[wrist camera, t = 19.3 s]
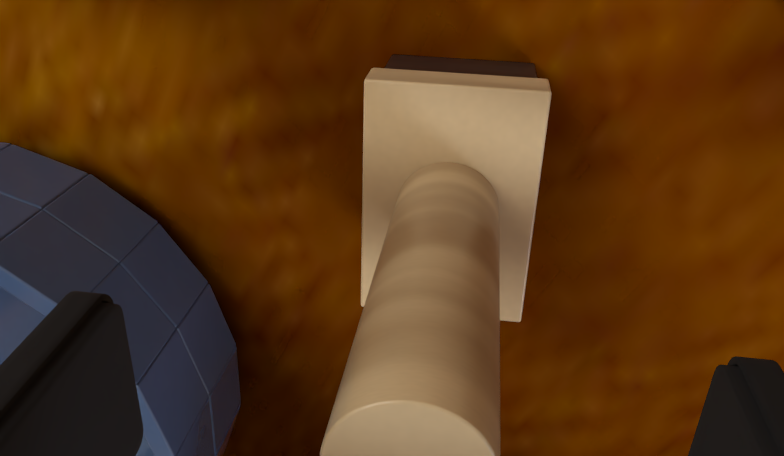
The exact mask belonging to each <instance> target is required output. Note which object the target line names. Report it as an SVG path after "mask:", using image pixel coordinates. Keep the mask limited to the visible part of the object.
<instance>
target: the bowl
mask: <svg viewBox="0 0 784 456" xmlns="http://www.w3.org/2000/svg"><path fill="white" fill-rule="evenodd" d="M72 291H81V292H91V293H101V294H107V295H109V296H110V297H111V298H112V300H113V303H114V304H118V305H120V306H121V308H122V311H123V315H124V321H125V326H126V332H127V338H128V343H129V349H130V355H131V360H132V366H133V371H134V377H135V383H136V388H137V394H138V400H139V405H140V411H141V416H142V422H143V438H142V443H141V446H140V448H139V450H138V452H137V454H136V456H223V454H224V452H225V450H226V447H227V444H228V441H229V438H230V435H231V432H232V429H233V426H234V424H235V421H236V418H237V415H238V412H239V409H240V404H241V399H240V386H239V372H238V359H237V347H236V343H235V341H234V338H233V336H232V334H231V331H230V329H229V327H228V325H227V322H226V320H225V318H224V315H223V313H222V311H221V309H220V306H219V304H218V302H217V300H216V297H215V295H214V293H213V290H212V288H211V286H210V284H209V283H208V281H207V280H206V279H205V277H204V276H203V275H202V274H201V273H200V271H199V270H198V269H197V268H196V267H195V265H194V264H193V263H192V262H191V261H190V259H189V258H188V257H187V256H186V255H185V253H184V252H183V251H182V250H181V249H180V248H179V246H178V245H177V244H176V243H175V242H174V240H173V239H172V238H171V237H170V236H169V234H168V233H167V232H166V231H165V230H164V228H163V227H162V226H161V225H160V224H158V222H157V221H156V220H155V219H153V218H152V217H151V216H149V215H148V214H146V213H145V212H144V211H142V210H141V209H139V208H138V207H137V206H135V205H134V204H132V203H131V202H130V201H128V200H127V199H125V198H124V197H123V196H121V195H120V194H118V193H117V192H116V191H114V190H113V189H111V188H110V187H109V186H107V185H106V184H104V183H103V182H102V181H100V180H99V179H97V178H96V177H95V176H93V175H92V174H88V173H87V172H84V171H82V170H79V169H77V168H74V167H71V166H69V165H66V164H64V163H61V162H58V161H56V160H53V159H51V158H48V157H45V156H43V155H40V154H38V153H35V152H32V151H30V150H27V149H25V148H22V147H19V146H17V145H12V144H11V143H2V142H0V365H1V364H2V363H3V362H4V361H5V360H6V359H7V358H8V356H9V355H10V354H11V353H12V352H13V351H14V350H15V349H16V348H17V347H18V346H19V345H20V344H21V343H22V342H23V340H24V339H25V338H26V337H27V336H28V335H29V334H30V333H31V332H32V331H33V330H34V329H35V328H36V327H37V326H38V324H39V323H40V322H41V321H42V320H43V319H44V318H45V317H46V316H47V315H48V314H49V313H50V312H51V311H52V310H53V309H54V307H55V306H56V305H57V304H58V303H59V302H60V301H61V300H62V299H63V298H64V297H65V296H66V295H67V294H68V293H70V292H72Z"/></svg>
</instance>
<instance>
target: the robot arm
mask: <svg viewBox="0 0 784 456" xmlns="http://www.w3.org/2000/svg"><path fill="white" fill-rule="evenodd" d="M142 438H143V422H142V416H141V411H140V405H139V400H138V394H137V388H136V383H135V377H134V371H133V366H132V360H131V355H130V349H129V343H128V338H127V332H126V326H125V321H124V315H123V311H122V308H121V306H120V305H118V304H114V303H113V300H112V298H111V297H110V296H109V295H107V294H101V293H91V292H81V291H72V292H70V293H68V294H67V295H66V296H65V297H64V298H63V299H62V300H61V301H60V302H59V303H58V304H57V305H56V306H55V307H54V309H53V310H52V311H51V312H50V313H49V314H48V315H47V316H46V317H45V318H44V319H43V320H42V321H41V322H40V323H39V324H38V326H37V327H36V328H35V329H34V330H33V331H32V332H31V333H30V334H29V335H28V336H27V337H26V338H25V339H24V340H23V342H22V343H21V344H20V345H19V346H18V347H17V348H16V349H15V350H14V351H13V352H12V353H11V354H10V355H9V356H8V358H7V359H6V360H5V361H4V362H3V363H2V364H1V365H0V456H136V454H137V452H138V450H139V448H140V446H141V443H142ZM688 456H784V373H783V371H782V369H781V367H780V366H779V365H778V363H777V362H775V361H773V360H765V359H755V358H745V357H733V358H732V359H731V360H730V361H729V363H728V365H718V367H717V368H716V370H715V372H714V375H713V378H712V381H711V385H710V388H709V391H708V394H707V397H706V400H705V404H704V407H703V410H702V413H701V416H700V420H699V423H698V426H697V429H696V432H695V435H694V439H693V442H692V445H691V448H690V451H689V455H688Z"/></svg>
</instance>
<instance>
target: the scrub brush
mask: <svg viewBox="0 0 784 456" xmlns="http://www.w3.org/2000/svg"><path fill="white" fill-rule="evenodd" d="M551 95H552V93H551V89H550V85H549V81H548V79H542V78H537V74H536V69H535V64H534V63H524V62H508V61H492V60H476V59H460V58H444V57H428V56H412V55H396V54H393V55H392V56H391V58H390V59H389V61H388V63H387V65H386V66H385V68H372V69H371V70H370V72H369V73H368V75H367V77H366V78H365V80H364V114H363V184H362V253H361V306H362V307H364V308H363V311H362V315H361V318H360V321H359V325H358V328H357V331H356V334H355V338H354V341H353V344H352V347H351V351H350V354H349V357H348V360H347V364H346V367H345V370H344V373H343V377H342V380H341V383H340V386H339V390H338V393H337V396H336V399H335V403H334V406H333V409H332V412H331V416H330V419H329V422H328V426H327V429H326V432H325V435H324V439H323V442H322V446H321V450H320V456H500V320H502V321H512V322H520V321H521V318H522V311H523V303H524V296H525V288H526V281H527V273H528V266H529V258H530V251H531V244H532V236H533V229H534V221H535V214H536V206H537V199H538V191H539V184H540V176H541V169H542V162H543V154H544V147H545V139H546V132H547V124H548V117H549V109H550V102H551Z"/></svg>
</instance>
